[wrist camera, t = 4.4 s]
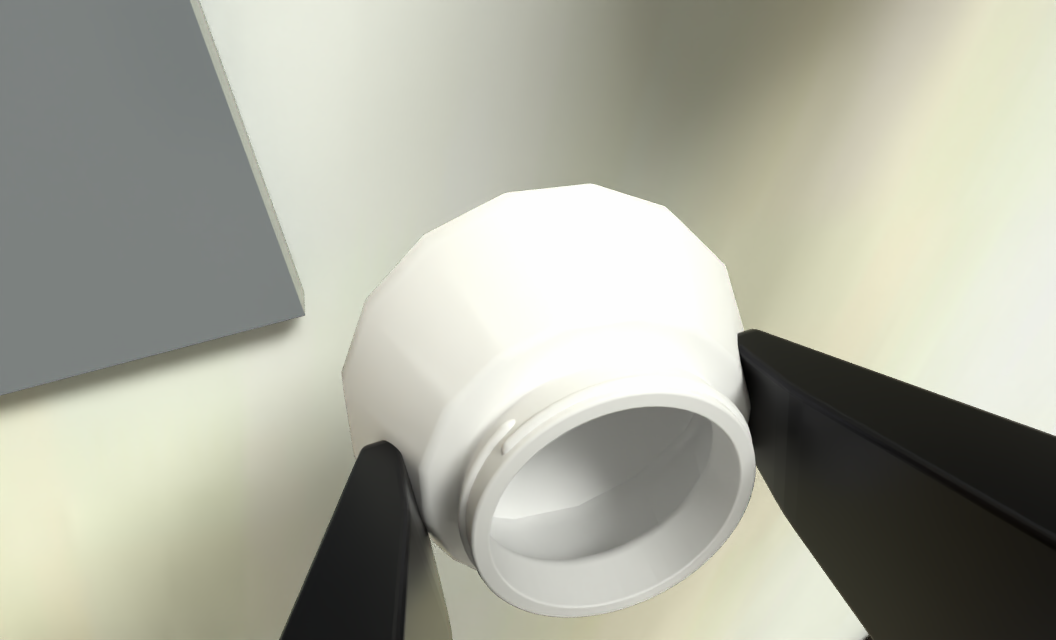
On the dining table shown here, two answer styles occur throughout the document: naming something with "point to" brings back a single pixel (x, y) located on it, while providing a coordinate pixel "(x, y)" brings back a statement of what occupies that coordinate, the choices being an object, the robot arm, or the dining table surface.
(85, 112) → the coaster
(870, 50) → the dining table surface
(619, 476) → the white jar
